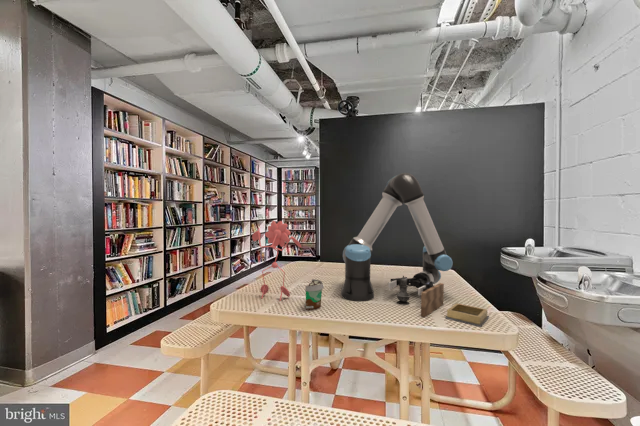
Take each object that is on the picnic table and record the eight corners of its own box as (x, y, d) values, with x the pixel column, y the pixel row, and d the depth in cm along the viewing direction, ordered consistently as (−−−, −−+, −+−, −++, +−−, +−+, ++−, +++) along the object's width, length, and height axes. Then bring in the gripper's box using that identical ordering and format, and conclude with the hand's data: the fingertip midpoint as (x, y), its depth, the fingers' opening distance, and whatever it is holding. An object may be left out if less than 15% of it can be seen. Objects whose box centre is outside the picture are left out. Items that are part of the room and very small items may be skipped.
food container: (320, 312, 115) (320, 287, 115) (305, 311, 116) (305, 286, 116) (325, 302, 127) (326, 279, 127) (312, 301, 128) (312, 278, 128)
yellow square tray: (480, 327, 102) (481, 318, 102) (445, 318, 110) (445, 310, 110) (489, 317, 111) (489, 309, 111) (455, 310, 119) (455, 302, 119)
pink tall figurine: (296, 303, 125) (298, 221, 125) (244, 297, 133) (245, 220, 134) (309, 294, 140) (310, 221, 140) (262, 289, 148) (263, 220, 148)
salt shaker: (394, 301, 130) (394, 274, 130) (407, 300, 130) (407, 273, 130) (398, 305, 124) (399, 277, 124) (412, 305, 125) (412, 277, 124)
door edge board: (424, 317, 111) (425, 293, 111) (421, 316, 112) (421, 292, 112) (443, 304, 126) (443, 283, 126) (439, 303, 127) (440, 282, 127)
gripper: (449, 292, 134) (432, 303, 118) (398, 283, 150) (377, 291, 134) (449, 276, 134) (432, 285, 118) (399, 268, 150) (377, 275, 134)
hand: (403, 288), depth 126 cm, fingers open, 13 cm apart
